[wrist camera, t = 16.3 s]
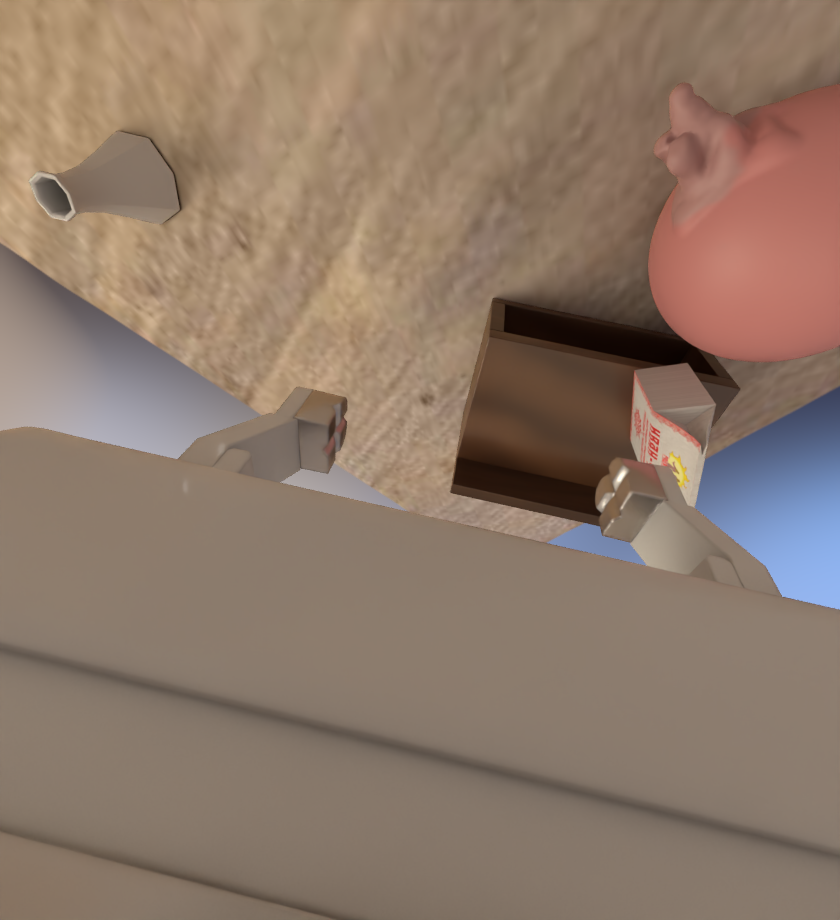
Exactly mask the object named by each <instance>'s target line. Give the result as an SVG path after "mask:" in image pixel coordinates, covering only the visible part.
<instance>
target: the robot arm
mask: <svg viewBox="0 0 840 920" xmlns="http://www.w3.org/2000/svg"><path fill="white" fill-rule="evenodd" d="M346 411H347V399H346V397H342V396H338V395H334V394H329V393H325V392H321V391H317V390H313V389H308V388H304V387H296V388H295V389H294V390H293V392H292V393H291V394H290V395H289V397H288V398H287V399H286V400H285V402H284V403H283V404H282V405H281V407H280V408H279V409H278V410H277V412H276V413H275V414H272V413H269V414H266V415H263V416H260V417H257V418H255V419H252V420H249V421H246V422H243V423H240V424H237V425H235V426H232V427H229V428H226V429H223V430H220V431H217V432H215V433H212V434H209V435H206V436H203V437H200V438H198V439H196V441H195V442H194V443H193V444H192V445H191V446H190V447H189V448H188V449H187V450H186V451H185V452H184V453H183V454H182V455H181V456H180V457H179V458H178V459H173V458H168V457H164V456H160V455H156V454H151V453H147V452H142V451H138V450H134V449H129V448H125V447H120V446H116V445H111V444H107V443H102V442H98V441H94V440H89V439H85V438H80V437H76V436H72V435H68V434H64V433H60V432H56V431H52V430H48V429H43V428H35V427H21V428H15V429H9V430H3V431H0V920H840V610H839V609H834V608H830V607H825V606H821V605H816V604H812V603H808V602H803V601H799V600H794V599H790V598H786V597H782V595H781V594H780V592H779V590H778V588H777V586H776V584H775V583H774V581H773V579H772V577H771V575H770V574H769V572H768V570H767V568H766V567H765V566H764V565H763V564H762V563H761V562H759V561H758V560H757V559H756V558H755V557H753V556H752V555H751V554H750V553H748V552H747V551H746V550H745V549H744V548H742V547H741V546H740V545H739V544H738V543H736V542H735V541H734V540H733V539H732V538H730V537H729V536H728V535H727V534H726V533H724V532H723V531H722V530H721V529H720V528H718V527H717V526H716V525H715V524H713V523H712V522H711V521H710V520H709V519H707V518H706V517H705V516H704V515H702V514H701V513H700V512H699V511H698V510H697V509H695V508H694V507H693V506H688V505H687V503H686V500H685V498H684V496H683V494H682V492H681V489H680V487H679V485H678V483H677V480H676V478H675V476H674V474H673V472H672V470H671V469H670V468H669V467H666V466H661V465H656V464H649V463H644V462H639V461H634V460H629V459H624V458H619V457H616V458H614V459H613V460H612V462H611V463H610V465H609V467H608V468H609V472H610V474H608V475H606V476H605V477H603V478H601V480H600V482H599V484H598V486H597V489H596V493H595V504H596V508H597V509H598V510H599V511H600V512H601V513H602V514H601V515H600V517H599V518H598V519H599V524H600V528H601V533H602V536H606V537H610V538H614V539H618V540H622V541H626V542H630V543H631V545H632V546H633V548H634V549H635V550H636V552H637V553H638V554H639V556H640V557H641V558H642V560H643V561H644V562H645V563H646V565H647V566H645V565H641V564H636V563H632V562H627V561H623V560H619V559H614V558H609V557H605V556H601V555H596V554H592V553H588V552H583V551H579V550H574V549H570V548H566V547H561V546H557V545H552V544H548V543H544V542H539V541H535V540H530V539H526V538H521V537H517V536H513V535H508V534H504V533H499V532H495V531H491V530H486V529H482V528H477V527H473V526H469V525H464V524H460V523H455V522H451V521H447V520H442V519H438V518H433V517H429V516H425V515H420V514H416V513H411V512H407V511H402V510H398V509H394V508H389V507H385V506H380V505H376V504H372V503H367V502H363V501H358V500H354V499H350V498H345V497H341V496H336V495H332V494H328V493H323V492H319V491H314V490H310V489H306V488H301V487H297V486H292V485H288V484H283V483H280V482H281V481H283V480H285V479H286V478H288V477H289V476H291V475H293V474H294V473H296V472H298V471H299V470H300V468H301V469H307V470H312V471H317V472H322V473H327V474H328V473H329V471H330V469H331V467H332V465H333V463H334V461H335V453H336V452H338V451H340V449H341V447H342V445H343V442H344V439H345V435H346V428H347V421H346V420H345V418H344V415H345V413H346Z"/></svg>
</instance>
